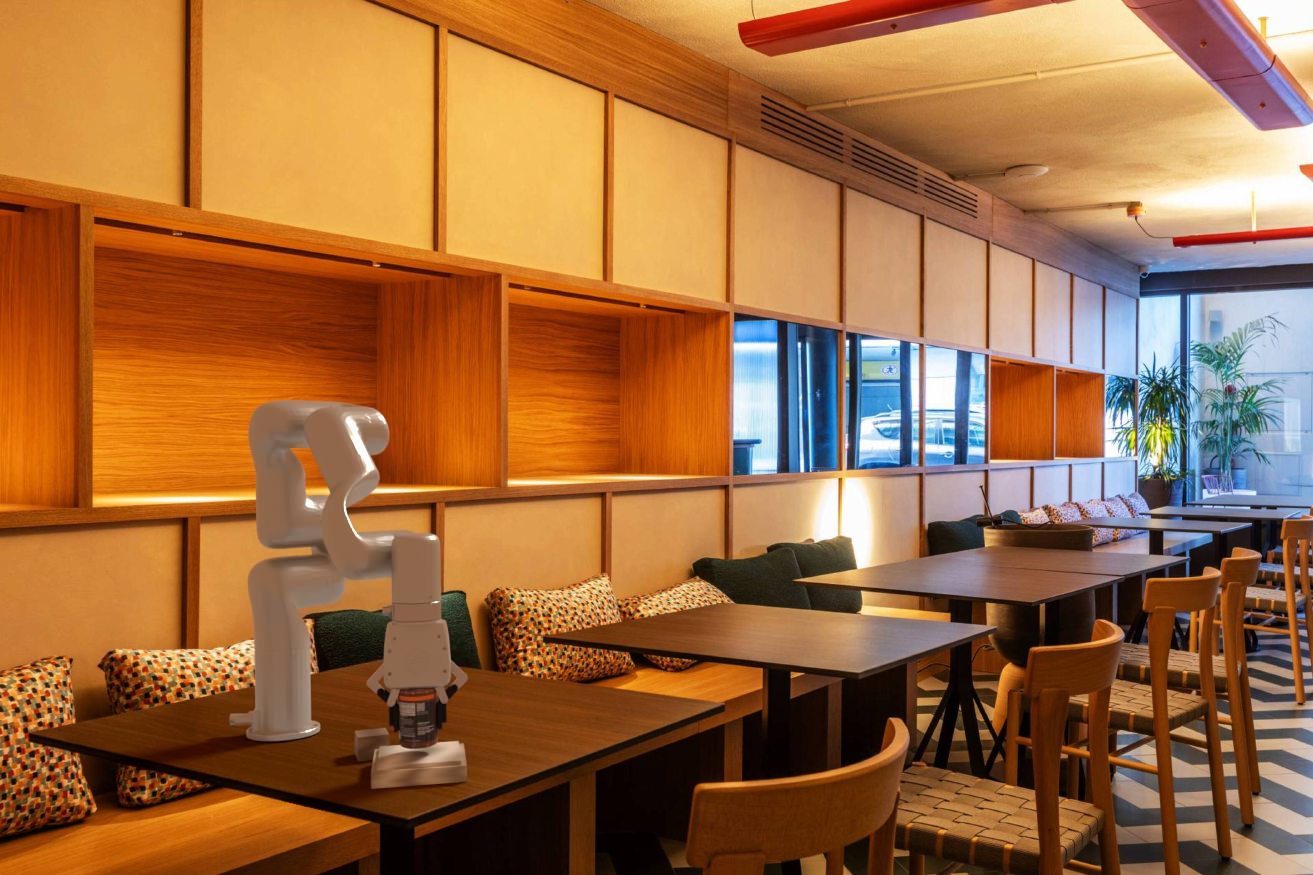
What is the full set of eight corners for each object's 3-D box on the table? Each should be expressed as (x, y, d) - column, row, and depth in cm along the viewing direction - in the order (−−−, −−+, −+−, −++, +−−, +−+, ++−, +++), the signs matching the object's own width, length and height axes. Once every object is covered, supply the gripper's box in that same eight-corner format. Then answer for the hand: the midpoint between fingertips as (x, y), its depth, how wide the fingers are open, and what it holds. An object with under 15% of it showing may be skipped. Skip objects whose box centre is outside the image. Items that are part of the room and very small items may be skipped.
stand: (371, 788, 169) (370, 768, 169) (375, 764, 182) (374, 745, 182) (467, 781, 172) (466, 761, 172) (463, 757, 185) (463, 739, 185)
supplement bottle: (421, 738, 181) (420, 666, 182) (446, 743, 178) (445, 670, 178) (390, 745, 177) (390, 672, 177) (415, 751, 173) (414, 677, 173)
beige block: (358, 762, 185) (357, 737, 185) (355, 754, 189) (354, 730, 189) (389, 758, 186) (389, 734, 186) (385, 751, 191) (385, 727, 191)
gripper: (358, 618, 172) (359, 738, 172) (473, 613, 176) (475, 731, 175) (360, 612, 179) (362, 726, 179) (471, 607, 183) (473, 720, 183)
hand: (418, 727), depth 177 cm, fingers closed on supplement bottle, 6 cm apart
